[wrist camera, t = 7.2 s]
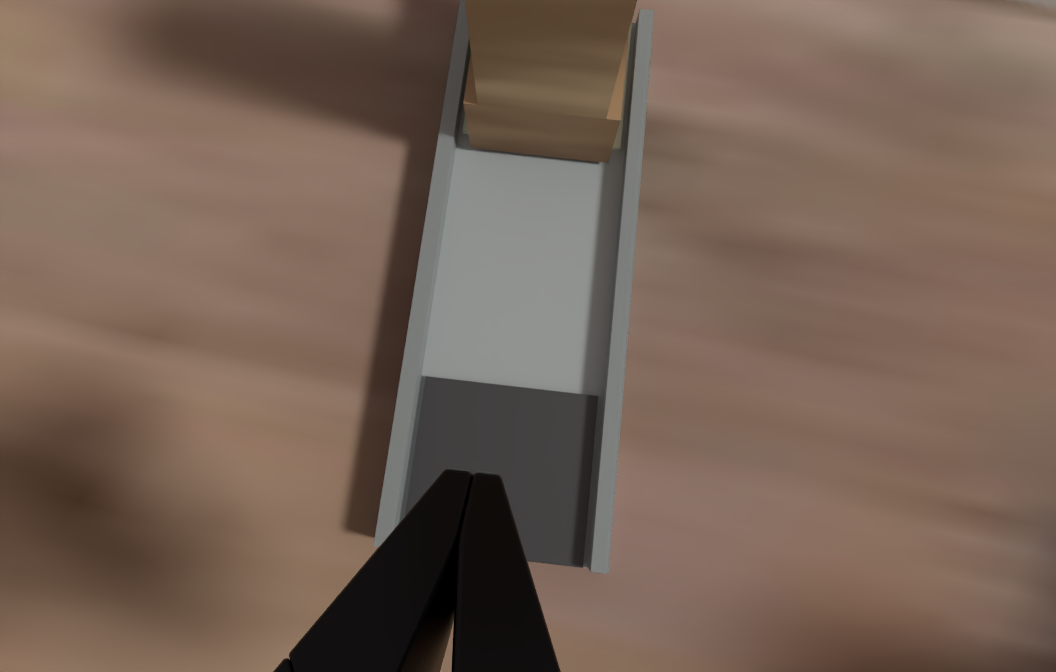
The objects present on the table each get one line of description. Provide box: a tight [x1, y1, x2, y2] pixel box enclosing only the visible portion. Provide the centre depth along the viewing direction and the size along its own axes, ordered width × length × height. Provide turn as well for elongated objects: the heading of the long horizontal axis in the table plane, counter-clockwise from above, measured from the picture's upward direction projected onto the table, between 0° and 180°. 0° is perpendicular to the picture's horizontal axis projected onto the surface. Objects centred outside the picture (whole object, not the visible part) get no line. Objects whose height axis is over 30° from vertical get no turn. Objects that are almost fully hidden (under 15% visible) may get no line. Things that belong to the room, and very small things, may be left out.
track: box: [374, 0, 654, 574], centre depth 22 cm, size 22×8×1 cm, turn 173°
